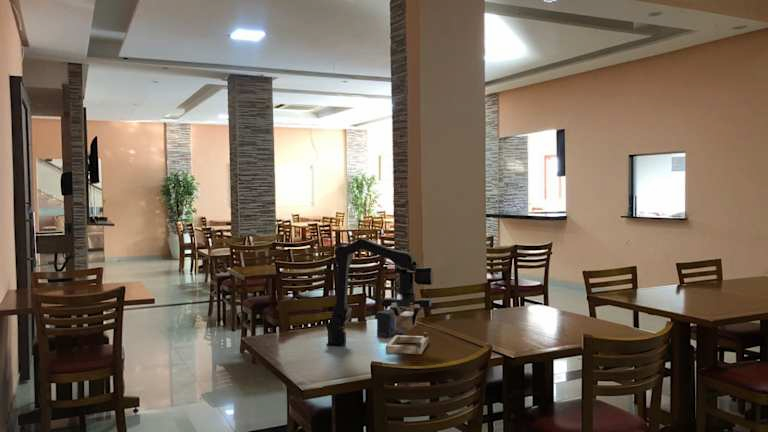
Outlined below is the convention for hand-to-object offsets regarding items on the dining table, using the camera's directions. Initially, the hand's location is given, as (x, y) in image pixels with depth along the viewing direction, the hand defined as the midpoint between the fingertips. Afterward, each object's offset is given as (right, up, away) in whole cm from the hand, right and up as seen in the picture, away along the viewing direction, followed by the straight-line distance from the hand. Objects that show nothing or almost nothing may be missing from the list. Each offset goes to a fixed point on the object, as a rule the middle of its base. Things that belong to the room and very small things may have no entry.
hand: (406, 324), depth 241 cm
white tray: (0, -9, 0) cm, 9 cm away
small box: (-6, -9, +22) cm, 25 cm away
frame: (0, -1, 0) cm, 1 cm away
